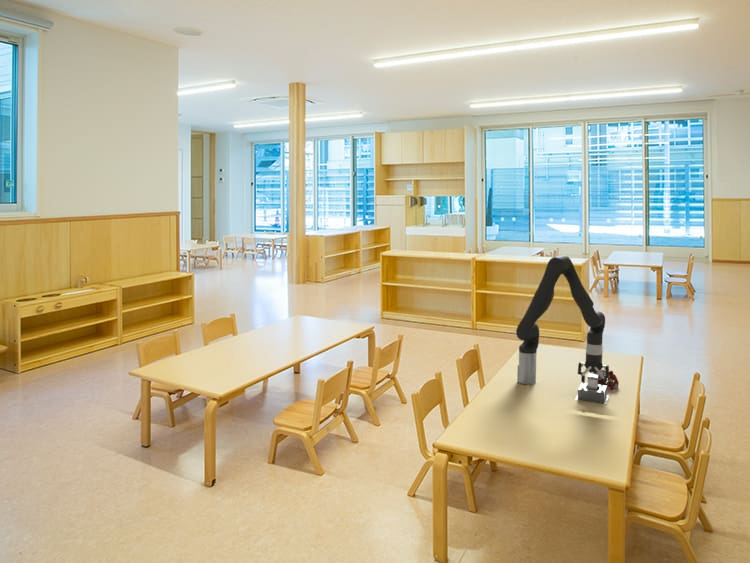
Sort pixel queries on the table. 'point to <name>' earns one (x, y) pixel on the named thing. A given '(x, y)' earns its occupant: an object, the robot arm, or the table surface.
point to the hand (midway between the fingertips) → (592, 384)
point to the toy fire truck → (609, 380)
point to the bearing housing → (592, 394)
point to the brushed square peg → (592, 382)
